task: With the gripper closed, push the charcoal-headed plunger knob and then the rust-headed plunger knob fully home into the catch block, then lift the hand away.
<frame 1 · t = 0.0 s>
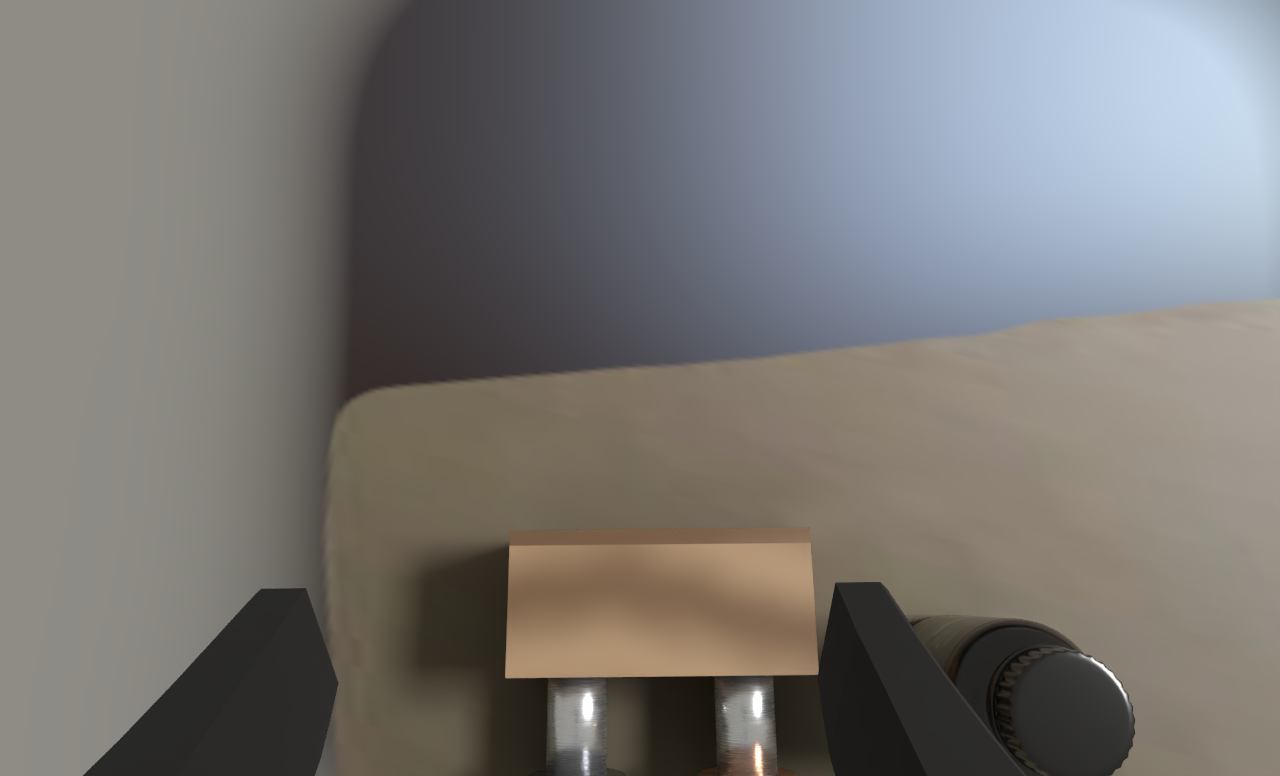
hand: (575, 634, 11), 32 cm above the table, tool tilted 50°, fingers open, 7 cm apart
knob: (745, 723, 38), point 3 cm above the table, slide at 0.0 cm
supplement bottle: (947, 683, 42), on the table
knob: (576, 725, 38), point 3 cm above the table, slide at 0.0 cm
catch block: (658, 666, 42), on the table
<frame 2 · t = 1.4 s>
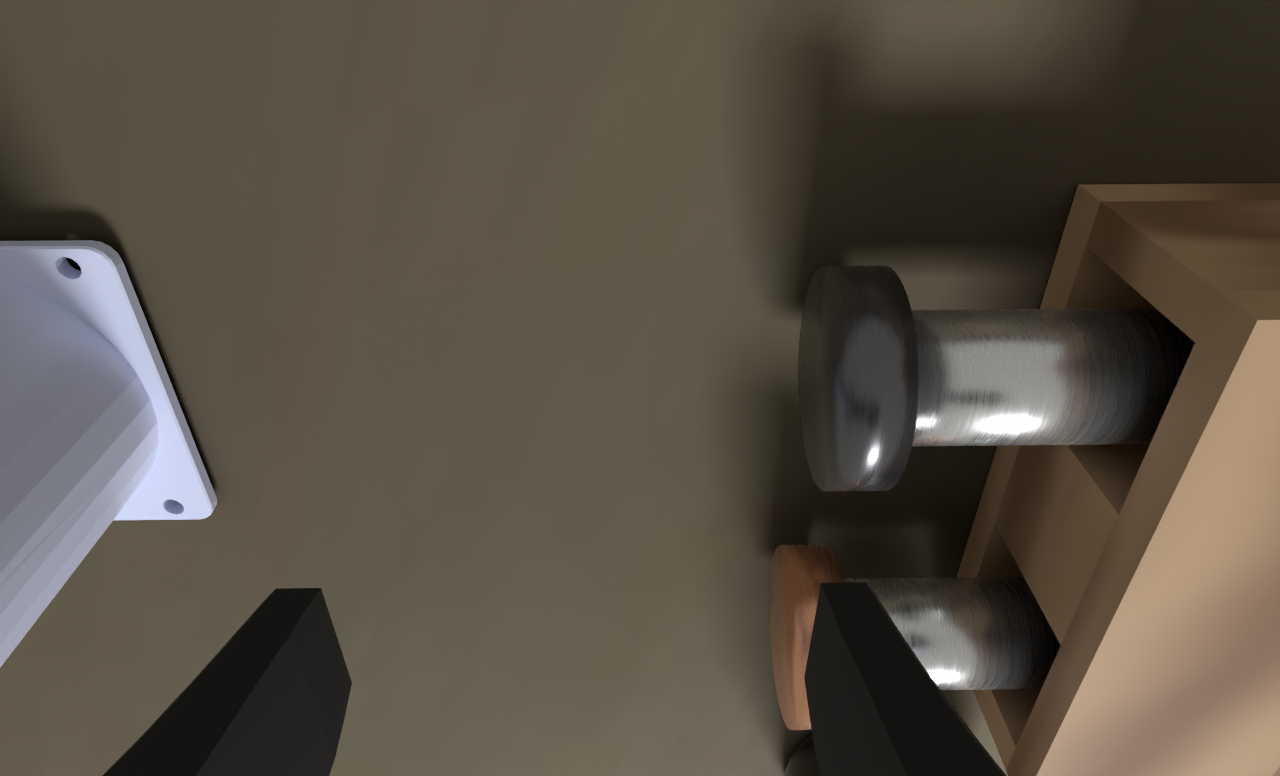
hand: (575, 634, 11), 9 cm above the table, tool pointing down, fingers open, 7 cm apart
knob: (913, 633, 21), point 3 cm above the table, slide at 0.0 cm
supplement bottle: (870, 757, 30), on the table
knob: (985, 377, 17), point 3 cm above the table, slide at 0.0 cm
catch block: (998, 440, 21), on the table
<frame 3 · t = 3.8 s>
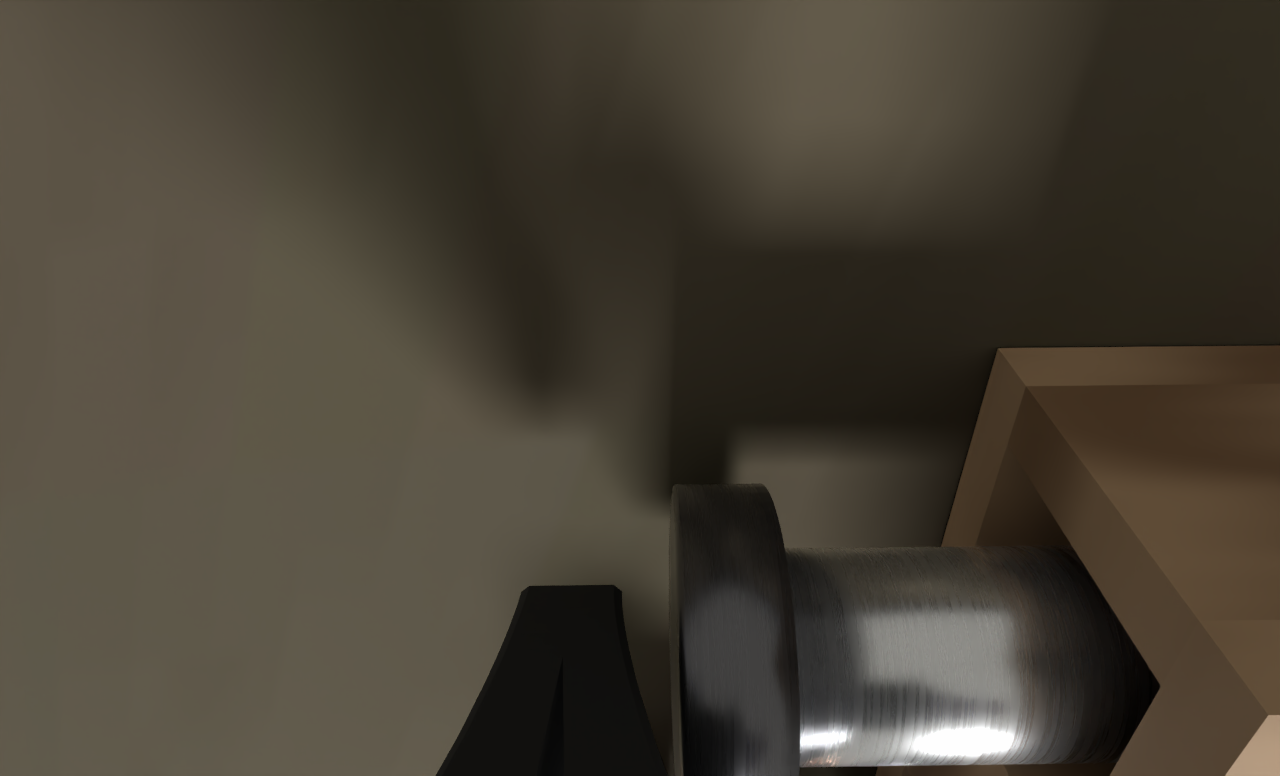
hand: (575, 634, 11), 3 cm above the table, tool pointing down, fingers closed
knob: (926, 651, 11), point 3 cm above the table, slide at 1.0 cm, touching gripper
catch block: (909, 655, 16), on the table
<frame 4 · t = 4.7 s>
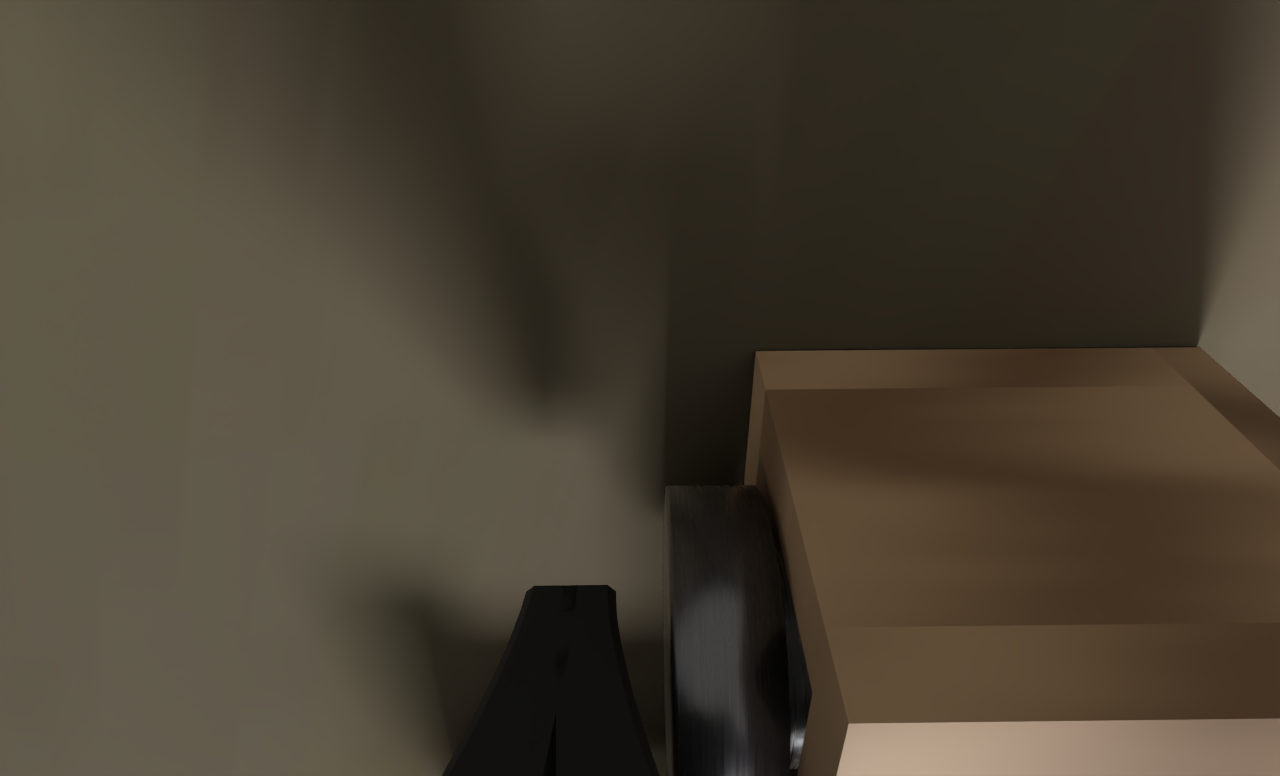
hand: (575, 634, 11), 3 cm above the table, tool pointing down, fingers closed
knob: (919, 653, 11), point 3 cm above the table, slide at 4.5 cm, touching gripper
catch block: (728, 658, 16), on the table
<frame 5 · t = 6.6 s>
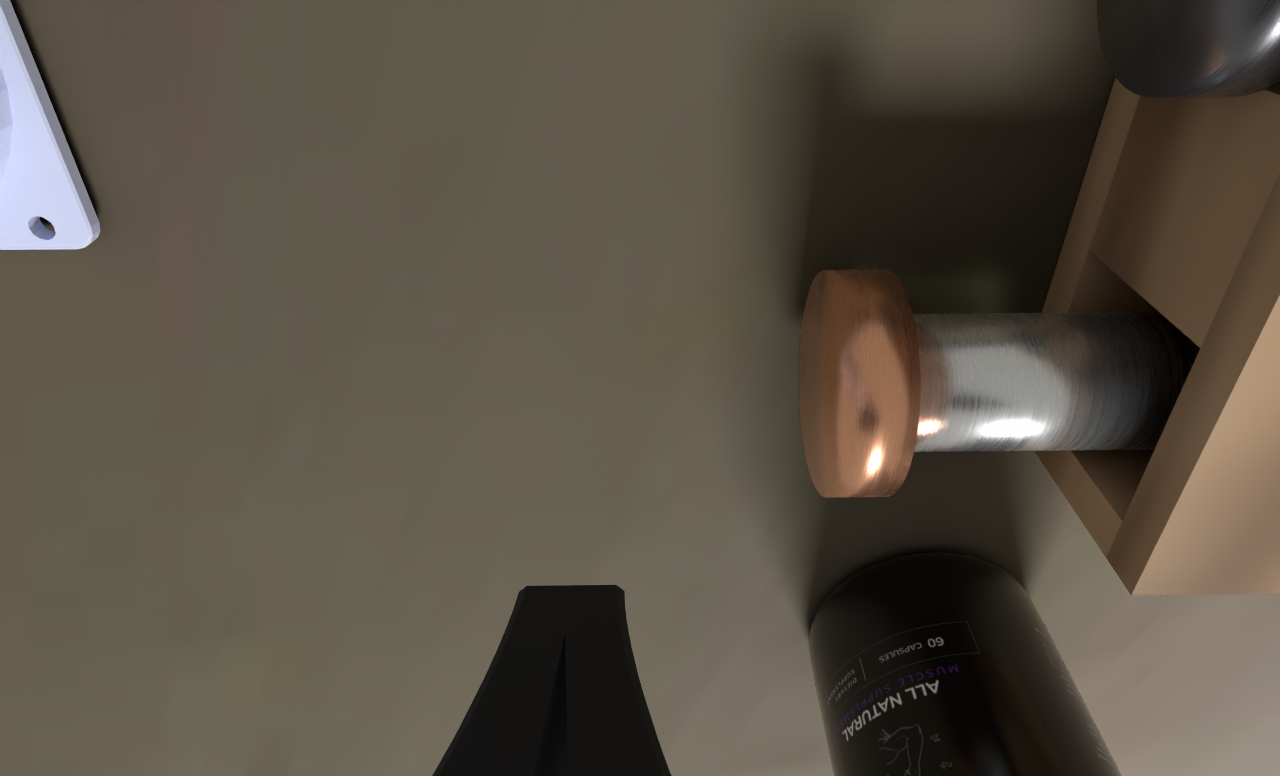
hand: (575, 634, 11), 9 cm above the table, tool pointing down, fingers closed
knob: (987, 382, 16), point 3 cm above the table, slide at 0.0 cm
supplement bottle: (910, 616, 25), on the table
catch block: (1095, 140, 17), on the table
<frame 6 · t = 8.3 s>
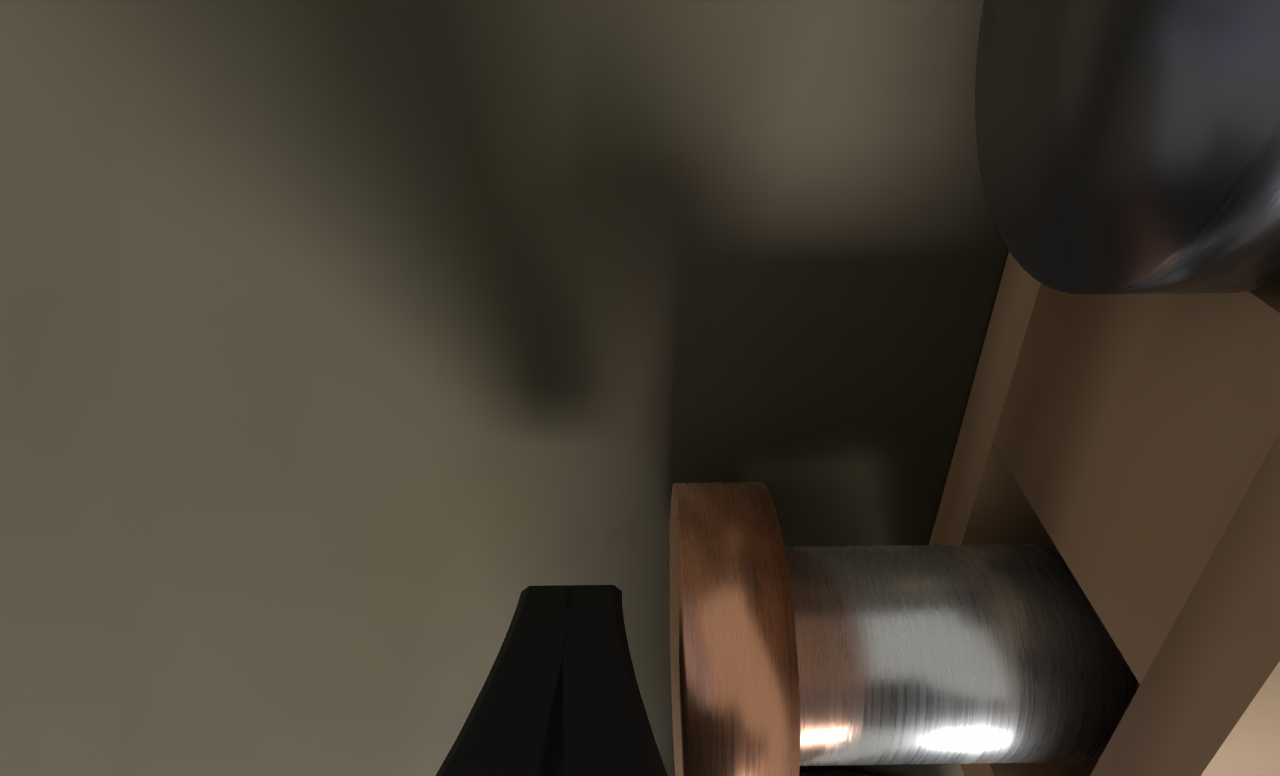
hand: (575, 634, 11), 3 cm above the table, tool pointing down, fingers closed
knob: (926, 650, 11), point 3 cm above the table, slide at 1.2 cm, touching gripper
catch block: (999, 284, 11), on the table
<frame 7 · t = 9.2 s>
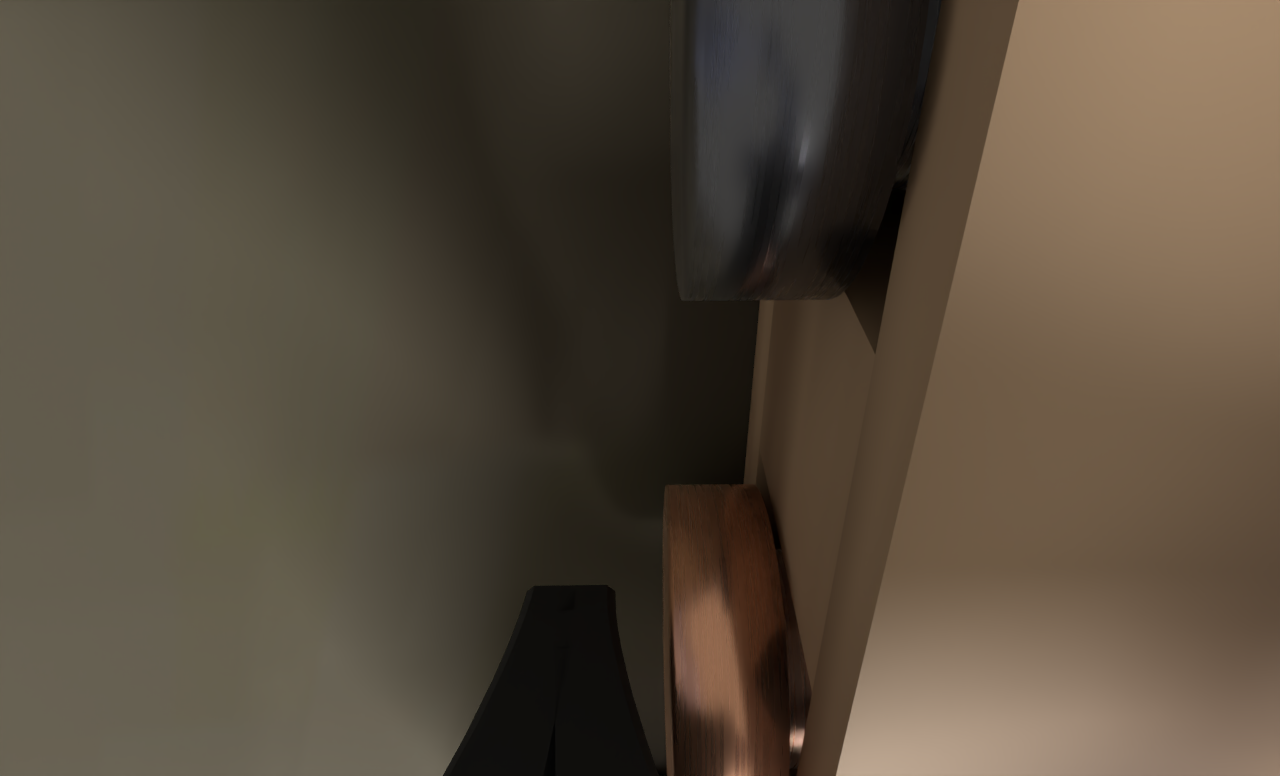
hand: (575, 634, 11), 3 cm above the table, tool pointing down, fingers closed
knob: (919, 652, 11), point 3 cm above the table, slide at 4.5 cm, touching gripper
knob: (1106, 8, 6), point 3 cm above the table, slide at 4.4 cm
catch block: (761, 288, 11), on the table
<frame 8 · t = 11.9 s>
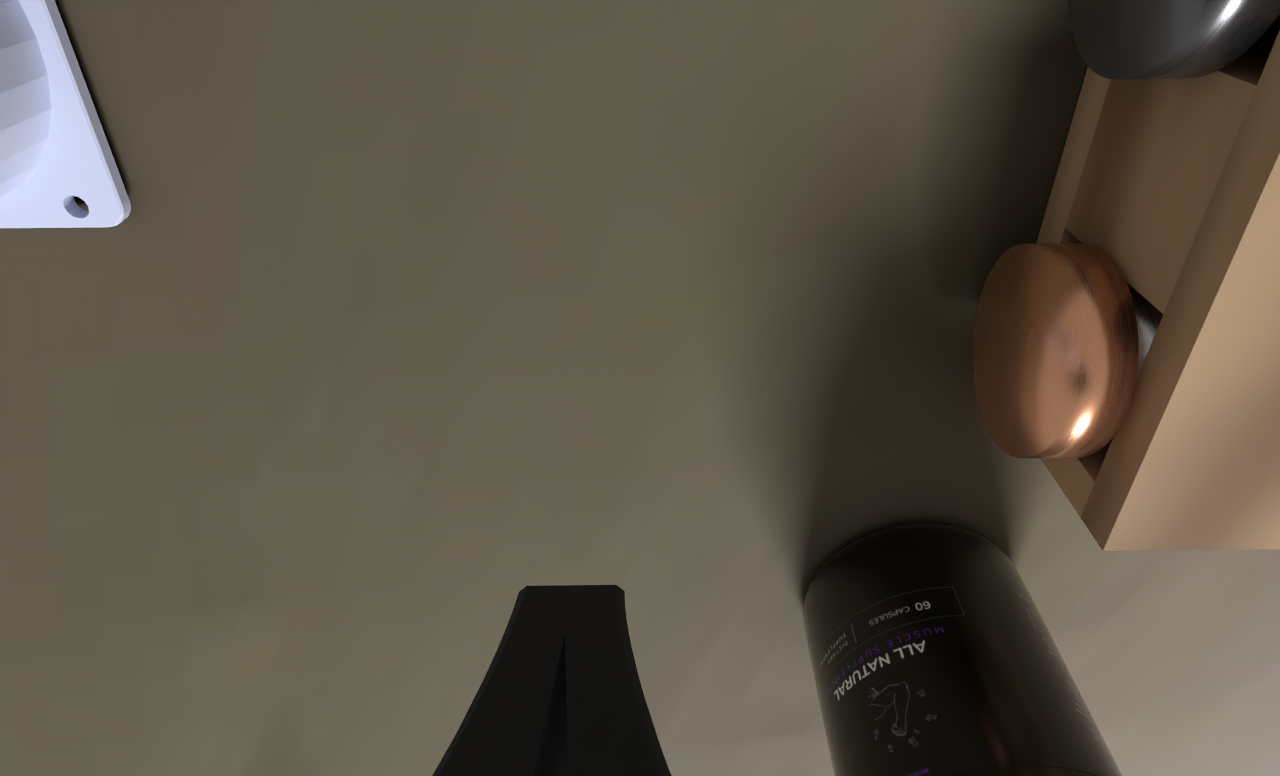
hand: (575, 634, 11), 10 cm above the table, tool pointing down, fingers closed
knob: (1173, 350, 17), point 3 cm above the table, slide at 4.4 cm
supplement bottle: (901, 587, 26), on the table
catch block: (1071, 124, 18), on the table
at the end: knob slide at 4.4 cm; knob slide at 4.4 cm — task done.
